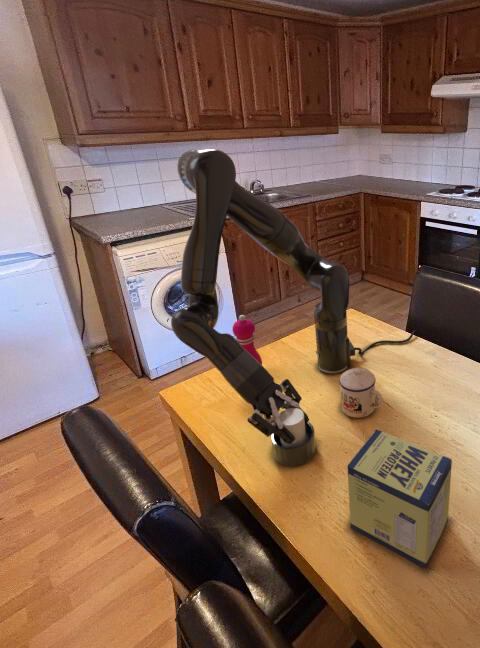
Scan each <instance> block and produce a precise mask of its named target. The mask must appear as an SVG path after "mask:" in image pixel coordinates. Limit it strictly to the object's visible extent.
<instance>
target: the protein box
mask: <svg viewBox="0 0 480 648" xmlns="http://www.w3.org/2000/svg"><path fill="white" fill-rule="evenodd" d="M452 465H453V460H452V458H450V457H448V456H445V455H442V454H439V453H437V452H434V451H432V450H429V449H427V448H425V447H422V446H419V445H417V444H415V443H412V442H409V441H407V440H404V439H401V438H399V437H396V436H394V435H392V434H389V433H387V432H385V431H382V430H380V429H375V430H374V432H373V433H372V434H371V435H370V437H368V439H367V440H366V441H365V443H363V445H362V447H361V448H360V449H359V451H358V452H357V453H356V454H355V455H354V456H353V458H352V459H351V461H350V462H349V463H348V464H347V466H346V467H347V482H348V483H347V485H348V503H349V506H348V507H349V523H350V524H349V525H350V529H352V530H353V531H355V532H357V533H359V534H361V535H363V536H364V537H366V538H368V539H370V540H372V541H373V542H375V543H376V544H378V545H381V546H383V547H384V548H386V549H388V550H390V551H392V552H393V553H395V554H397V555H398V556H400V557H402V558H404V559H406V560H407V561H410V562H411V563H413V564H414V565H417V566H419V567H420V568H422V569H425V570H426V569H427V568H428V566H429V564H430V562H431V560H432V557H433V555H434V553H435V551H436V548H437V547H438V544H439V543H440V540H441V539H442V536H443V533H444V531H445V529H446V526H447V524H448V523H449V508H450V507H449V506H450V494H451V479H452Z"/></svg>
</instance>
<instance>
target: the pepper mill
mask: <svg viewBox="0 0 480 648" xmlns="http://www.w3.org/2000/svg"><path fill="white" fill-rule="evenodd" d="M255 331H256V326H255V323H254V322H253V321H252V319H249V318H246V316H245V315H244V314H241V315H239V316H238V320H236V321H235V322H234V323H233V324H232V333H233V335H234V336H235V339H236V340H237V341H238V342H239V343H240V344H241V345H242V346H243V347H244V349H245V350H246V351H247V352H249V353H250V354H251V355H252V356H254V357H255V358H256V360H257V361H258V362H259V363H260V364H261V365H262V366H263V359H262V356H261V355H260V353H259V352H258V351H257V349H256V347H255V343H254V342H255V338H256V337H255Z"/></svg>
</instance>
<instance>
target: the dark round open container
mask: <svg viewBox="0 0 480 648" xmlns="http://www.w3.org/2000/svg"><path fill="white" fill-rule="evenodd" d="M305 431H306V441H307V442H306V443H304V444H302V445H300V446H298V447H294V448H286V447H282V446H281V439H280V437H279V436H278V435H277V434H275V433H274V434H272V435H270V438H271V444H272V452H273V457H274V459H275V461H276V462H277V463H278V464H279V465H281V466H283V467H288V468H294V467H299V466H301V465H304V464H307V463H308V462H309V461H311V459H312V458H313V457H314V455H315V453H316V450H317V449H316V448H317V443H316V434H315V427H314V425H312V423H311V422H310V421H308V423H306V424H305Z"/></svg>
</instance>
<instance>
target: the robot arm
mask: <svg viewBox="0 0 480 648" xmlns="http://www.w3.org/2000/svg"><path fill="white" fill-rule="evenodd" d="M176 168H177V169H176V170H177V174H178V175H177V176H178V178H179V179H180V182H181V183H182V185H184V187H185V188H186V189H187V190H188V191H190V192H191V193H193V194H195V214H194V220H193V224H192V227H191V230H190V233H189V235H188V238H187V240H186V243H185V246H184V250H183V254H182V260H181V261H182V262H181V270H180V271H181V274H180V289H181V291H182V292H183V293H184V294H186V295H188V305H187V306H185V307H182V308H179V309H177V310H176V311H175V312H174V313H173V314H172V316H171V319H170V320H171V321H170V326H171V330H172V332H173V333H174V335H175V336H176V338H177V339H178V340H179V341H180V342H181V343H183V344H184V345H186V346H187V347H189V348H190V349H192V350H193V351H194V352H196V353H197V354H199V355H201V356H203V357H204V358H206V359H207V360H208V361H209V362H210V363H211V364H212V365H213V366H214V368H216V370H217V371H218V372H220V374H221V375H222V377H223V378H224V380H225V382H227V384H229V386H231V388H233V390H234V391H235V392H236V393H237V394H238V396H240V397H241V398H242V400H244V401H245V402H246V403H247V404H250V405H251V407H252V408H253V412H252V414H251V415H250V416H249V417H247V420H246V421H247V423H249V424H250V425H251V426H253V427H254V428H255V429H257V430H258V431H260V433H262V434H263V435H264V436H265V437H271V436H272V434H274V433H275V434H277V435H278V436H279V437H280V438H281V439H282V440H283V441H284V442H285V443H288V444H291V443H292V442H294V440H295V437H294V436H293V435H292V434H291V432H290V431H289V430H288V429H287V428H286V427H285V426H284V427H283V425H282V422H281V420H280V412H279V411H280V409H282V410H285V409H288V408H298V409H300V410H302V411H303V413H304V420H305V424H306V423H308V422H310V418H309V416H308V414H307V413H306V412H305V411H304V410H303V409H302V407H301V405H300V402H301V401H302V396H301V395H300V394H299V392H298V390H297V389H296V388H295V386H294V385H293V384H292V382H291V381H290V379H289V378H286V379H284V380H283V381H281V382H280V383H277V382H275V378H274V376H272V374H271V373H270V372H269V371H268V370H267V369H266V368H265V367H264V366H263V364H262V365H261V364H260V363H259V362H258V361H257V360H256V358H255V357H254V356H252V355H251V354H250V353H249V352H247V351H246V350H245V349H244V347H243V346H242V345H241V344H240V343H239V342H238V341H237V340H236V337H234V336H233V335H231V334H230V333H227V332H225V333H223V332H222V333H221V332H219V331H218V330H216V329H215V327H216V326H217V323H218V319H219V300H218V293H217V288H216V287H217V281H218V280H217V279H218V269H219V268H218V267H219V258H220V257H219V256H220V250H221V243H222V238H223V233H224V227H225V223H226V220H227V217H228V218H229V219H230V220H231V221H232V222H233V223H234V224H235V225H236V226H238V228H240V229H241V230H242V231H243V232H244V233H246V235H248V236H249V237H250V238H251V239H252V240H254V242H255V243H257V244H258V245H259V246H261V248H263V249H264V250H266V251H267V252H268V253H269V254H271V255H272V256H273V257H275V258H277V259H279V260H280V261H281V262H283V263H285V264H286V265H288V266H289V267H290V268H292V269H293V270H294V271H295V272H296V273H297V274H298V275H299V276H300V277H301V278H302V280H304V281H305V283H306V284H307V285H308V286H309V287H310V288H312V289H313V290H315V291H317V292H319V293H320V294H321V301H319V302H316V304H315V305H314V306H313V316H314V328H315V329H314V330H315V343H316V350H315V355H316V357H317V369H318V370H319V371H320V372H322V373H324V374H327V375H328V374H329V375H336V374H340V373H342V372H343V373H344V372H345V371H347V370H348V369H351V367H352V364H351V361H352V360H351V357H354V356H356V351H358V355H359V356H360V355H363V354H364V353H365V352H367V351H368V350H369V349H371V348H372V347H374V346H376V345H378V344H404V343H407V342H409V341H410V340H412V338H413V337H414V335H415V334H418V333H419V331H418V330H416V329H414V330H413V331H412V332H411V333H410V336H408V338H406V339H404V340H403V339H402V340H378V341H375V342H373V343H371V344H369V345H368V346H367V347H366V348H365V349H364V350H362V348H361V347H354V345H353V343H352V342H351V340H350V338H349V336H348V316H347V312H348V311H347V310H348V307H349V302H350V275H349V271H348V269H347V268H346V267H345V266H344V265H343V264H341V263H338V262H335V261H334V260H330V259H328V258H326V257H323V256H322V255H321V254H319V253H318V252H316V251H315V250H314V249H312V248H311V247H310V246H309V245H308V244H307V243H306V241H305V239H304V237H303V235H302V233H301V232H300V229H299V228H298V227H297V225H296V224H295V223H293V222H292V221H291V219H289V218H288V217H287V216H286V215H285V214H284V213H283V212H281V211H280V209H278V208H277V207H275V206H273V204H270V203H269V202H267V201H265V200H264V199H262V198H260V197H259V196H257V195H255V194H254V193H252V192H250V191H249V190H247V189H245V188H244V187H243V186H242V185H241V184H239V183H238V182H237V181H236V179H237V169H236V165H235V162H234V160H233V159H232V157H230V156H229V155H228V154H227V153H226V152H224V151H223V150H220V149H214V148H193V149H190V150H187V151H185V152H184V153H182V154H181V155H180V157H179V158H178V161H177V165H176Z"/></svg>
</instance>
